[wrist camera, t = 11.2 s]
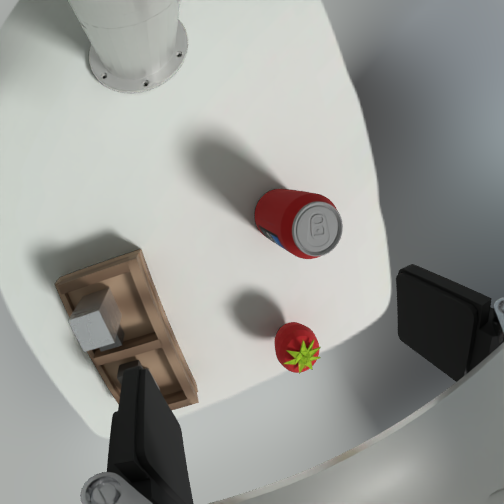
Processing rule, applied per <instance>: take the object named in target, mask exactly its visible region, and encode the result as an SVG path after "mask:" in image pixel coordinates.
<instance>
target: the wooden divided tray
mask: <svg viewBox="0 0 504 504" xmlns="http://www.w3.org/2000/svg"><path fill="white" fill-rule="evenodd" d="M55 286H56V289H57V291H58V293H59V296H60V298H61V300H62V302H63V305H64V307H65V309H66V311H67V313H68V315H69V317H70V316H71V314H72V313H73V311H74V310H75V308H76V306H77V305H78V303H79V301H80V300H81V298H82V297H83V296H86V295H89V294H91V293H94V292H97V291H100V290H103V289H106V288H109V287H110V289H111V292H112V294H113V296H114V299H115V301H116V303H117V306H118V308H119V310H120V312H121V315H122V317H121V321H120V325H121V327H122V329H123V331H124V333H125V335H124V339H123V344H122V346H119V347H115V348H112V349H108V350H105V351H102V352H101V351H100V349H99V348H96V349H92V350H89V351H87V353H88V354H89V356H90V358H91V360H92V362H93V363H94V365H95V367H96V368H97V370H98V372H99V374H100V375H101V377H102V379H103V380H104V382H105V384H106V385H107V387H108V388H109V390H110V392H111V393H112V395H113V396H114V398H115V399H116V401H117V403H118V404H119V400H120V392H121V385H122V378H123V372H124V370H126V369H130V368H133V367H137V366H141V367H142V369H146V368H147V369H148V370H149V372H150V373H151V375H152V377H153V379H154V381H155V383H156V385H157V386H158V388H159V390H160V392H161V394H162V395H163V397H164V399H165V401H166V402H167V404H168V406H169V408H170V409H171V410H174V409H178V408H181V407H185V406H188V405H192V404H195V403H199V402H198V397H197V392H198V390H197V385H196V382H195V380H194V378H193V376H192V374H191V371H190V369H189V367H188V365H187V363H186V360H185V358H184V356H183V354H182V352H181V349H180V347H179V345H178V342H177V340H176V338H175V335H174V333H173V331H172V328H171V326H170V324H169V321H168V319H167V316H166V314H165V311H164V309H163V306H162V304H161V301H160V299H159V296H158V294H157V291H156V288H155V286H154V283H153V280H152V278H151V275H150V272H149V270H148V267H147V264H146V261H145V258H144V256H143V253H142V250H141V249H139V250H136V251H133V252H130V253H127V254H124V255H121V256H118V257H115V258H113V259H110V260H107V261H104V262H101V263H98V264H95V265H93V266H90V267H87V268H84V269H81V270H78V271H76V272H73V273H70V274H67V275H65V276H62V277H60V278H59V279H58V280H57V281H56V283H55Z"/></svg>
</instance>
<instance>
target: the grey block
mask: <svg viewBox="0 0 504 504" xmlns="http://www.w3.org/2000/svg"><path fill="white" fill-rule="evenodd" d="M121 317H122V315H121V312H120V310H119V308H118V306H117V303H116V301H115V299H114V296H113V294H112V292H111V289H110V287H109V288H106V289H103V290H100V291H97V292H94V293H91V294H89V295H86V296H83V297H82V298H81V300H80V301H79V303H78V305H77V306H76V308H75V310H74V311H73V313H72V314H71V316H70V318H69V320H68V322H69V324H70V326H71V328H72V330H73V332H74V334H75V336H76V338H77V340H78V342H79V343H80V345H81V347H82V349H83V351H84V352H85V351H89V350H92V349H96V348H99V349H100V351H101V352H102V351H105V350H108V349H112V348H115V347H119V346H122V344H123V339H124V335H125V333H124V331H123V329H122V327H121V325H120V321H121Z"/></svg>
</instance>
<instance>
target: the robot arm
mask: <svg viewBox="0 0 504 504" xmlns="http://www.w3.org/2000/svg"><path fill="white" fill-rule="evenodd" d="M68 2H69V4H70V6H71V7H72V9H73V11H74V13H75V15H76V17H77V19H78V20H79V22H80V24H81V26H82V28H83V30H84V31H85V33H86V35H87V37H88V39H89V40H90V42H91V46H90V51H89V63H90V67H91V70H92V72H93V73H94V75H95V77H96V78H97V79H98V80H99V82H101V83H102V84H103V85H104V86H106V87H108V88H110V89H112V90H114V91H118V92H122V93H139V92H144V91H147V90H151V89H153V88H155V87H158V86H160V85H161V84H163V83H164V82H166V81H168V80H169V79H170V78H171V77H172V76H173V75H174V74H175V73H176V72H177V71H178V69H179V68H180V67H181V65H182V63H183V61H184V59H185V56H186V53H187V48H188V37H187V33H186V30H185V28H184V26H183V24H182V23H181V22H180V20H179V19H178V16H179V8H180V0H68ZM178 55H181V57H177V56H178ZM105 76H107V77H106V78H105V79H103V78H104V77H105ZM145 83H147V84H148V85H147V86H144V84H145ZM396 284H397V306H398V336H399V338H400V340H401V341H402V342H404V343H405V344H407V345H408V346H409V347H410V348H412V349H413V350H414V351H416V352H417V353H419V354H420V355H421V356H423V357H424V358H425V359H427V360H428V361H429V362H431V363H432V364H433V365H435V366H436V367H437V368H439V369H440V370H441V371H443V372H444V373H446V374H447V375H448V376H449V377H451V378H452V379H453V380H455V381H456V383H455V384H453V385H452V386H451V387H450V388H448V389H447V390H445V391H444V392H443V393H442V394H440V395H439V396H437V397H436V398H435V399H433V400H432V401H430V402H429V403H427V404H426V405H424V406H423V407H422V408H420V409H419V410H417V411H416V412H414V413H413V414H411V415H410V416H408V417H406V418H405V419H403V420H402V421H400V422H398V423H397V424H395V425H394V426H392V427H390V428H389V429H387V430H385V431H383V432H382V433H380V434H378V435H377V436H375V437H373V438H372V439H369V440H368V441H366V442H364V443H362V444H360V445H358V446H356V447H354V448H353V449H351V450H349V451H347V452H345V453H343V454H341V455H339V456H337V457H334V458H332V459H331V460H328V461H326V462H324V463H322V464H319V465H317V466H315V467H313V468H310V469H308V470H306V471H303V472H301V473H299V474H296V475H293V476H291V477H288V478H286V479H283V480H281V481H278V482H275V483H272V484H269V485H267V486H264V487H261V488H258V489H255V490H252V491H249V492H246V493H243V494H240V495H237V496H233V497H230V498H227V499H223V500H220V501H216V502H212V503H209V504H504V297H503V298H501V299H498V300H497V301H496V302H495V304H494V309H493V308H491V307H490V305H491V298H489V297H487V296H485V295H483V294H481V293H478V292H476V291H474V290H472V289H469V288H467V287H465V286H463V285H460V284H458V283H456V282H453V281H451V280H449V279H447V278H444V277H442V276H440V275H437V274H435V273H433V272H430V271H428V270H426V269H423V268H421V267H419V266H416V265H413V264H411V265H409V266H407V267H405V268H403V269H400V270H399V273H398V275H397V278H396ZM80 496H81V502H82V504H193V499H192V494H191V488H190V482H189V478H188V471H187V465H186V458H185V452H184V446H183V438H182V432H181V428H180V425H179V423H178V421H177V419H176V418H175V416H174V414H173V413H172V411H171V409H170V408H169V406H168V404H167V402H166V401H165V399H164V397H163V395H162V394H161V392H160V390H159V388H158V386H157V385H156V383H155V381H154V379H153V377H152V375H151V373H150V372H149V370H148V369H147V368H146V369H142V367H141V366H137V367H133V368H130V369H126V370H124V372H123V378H122V385H121V392H120V400H119V408H118V411H117V412H115V413H113V417H112V425H111V433H110V443H109V453H108V464H107V472H102V473H99V474H96V475H94V476H93V477H91V478H89V479H88V481H87V482H86V483H85V484H84V486H83V488H82V490H81V495H80Z"/></svg>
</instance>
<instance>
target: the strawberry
mask: <svg viewBox="0 0 504 504" xmlns="http://www.w3.org/2000/svg"><path fill="white" fill-rule="evenodd" d="M320 348H321V347H319V343H318V341H317V338H316V336H315V334H314V333H313V331H312V330H311V329H310V328H308V327H306V326H304V325H302V324H299V323H296V322H291V323H287V324H285V325H283V326H282V327H281V328H280V329H279V330H278V332H277V334H276V337H275V351H276V356H277V358H278V360H279V362H280V363H281V364H282V365H283V366H284V367H285V368H286V369H287V370H289V371H291V372H296V373H298V372H299V373H300V372H304V371H306V370H308V369H309V368H310V369H312V366H313V365H314V363H315V362H316V360H317V359H319V358H320V357H318V355H319V349H320Z"/></svg>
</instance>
